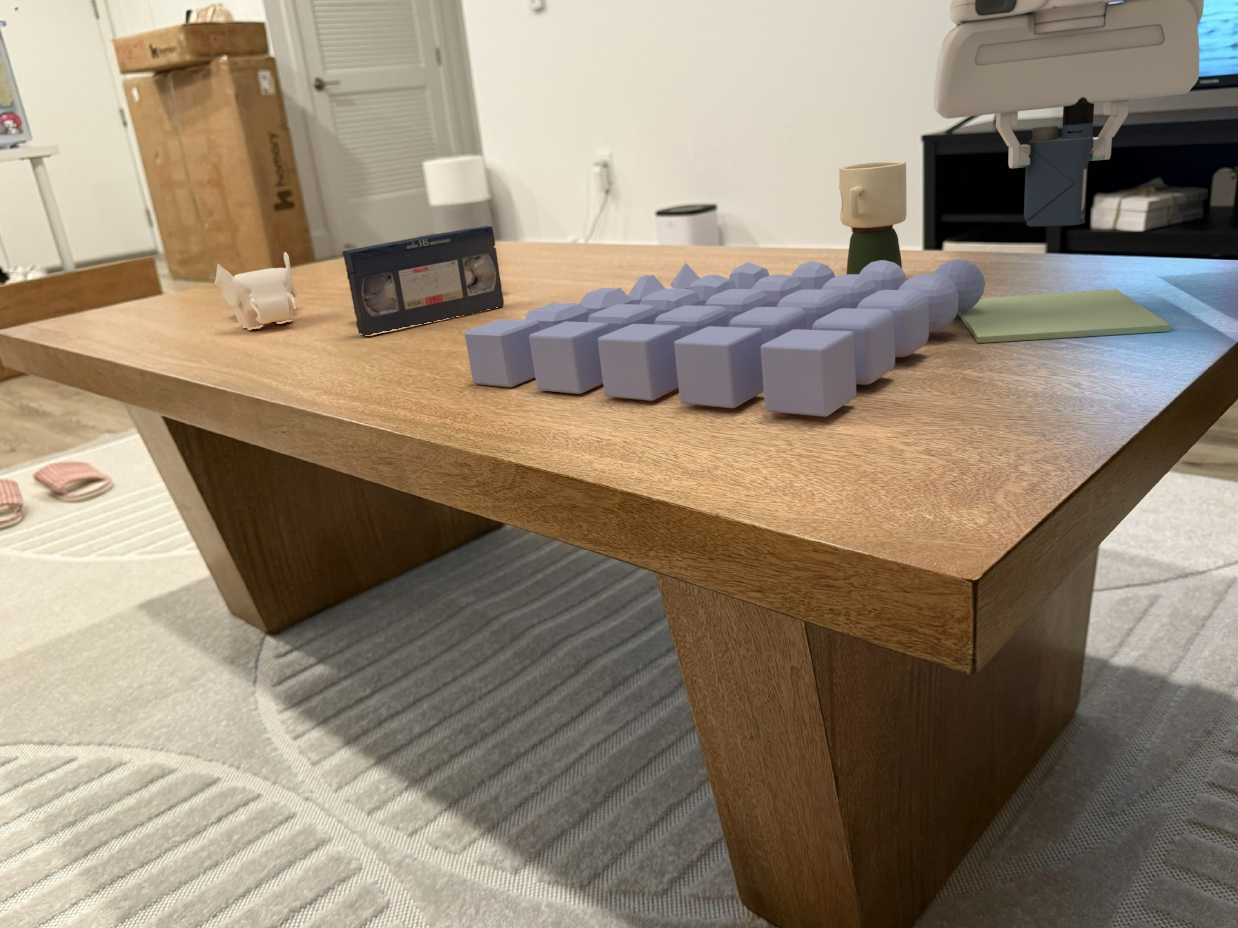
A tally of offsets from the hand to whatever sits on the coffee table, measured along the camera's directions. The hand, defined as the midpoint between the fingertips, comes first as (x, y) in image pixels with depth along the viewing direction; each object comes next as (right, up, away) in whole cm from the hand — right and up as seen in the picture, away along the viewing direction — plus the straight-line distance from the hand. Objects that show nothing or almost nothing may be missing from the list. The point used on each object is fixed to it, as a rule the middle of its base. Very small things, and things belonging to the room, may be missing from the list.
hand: (1057, 163), depth 84 cm
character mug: (-9, -5, +28) cm, 29 cm away
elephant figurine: (-83, -8, +43) cm, 94 cm away
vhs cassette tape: (-60, -9, +35) cm, 70 cm away
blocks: (-27, -15, +6) cm, 31 cm away
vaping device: (+1, -5, +2) cm, 5 cm away
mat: (+1, -13, +5) cm, 13 cm away
